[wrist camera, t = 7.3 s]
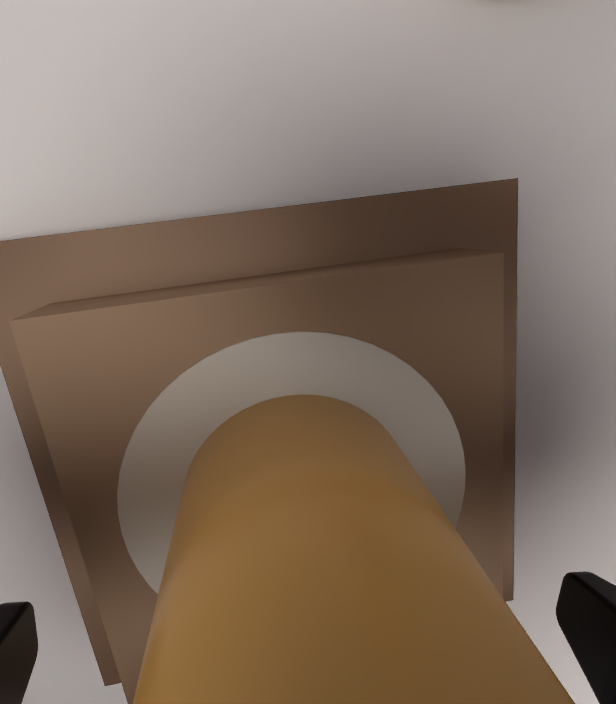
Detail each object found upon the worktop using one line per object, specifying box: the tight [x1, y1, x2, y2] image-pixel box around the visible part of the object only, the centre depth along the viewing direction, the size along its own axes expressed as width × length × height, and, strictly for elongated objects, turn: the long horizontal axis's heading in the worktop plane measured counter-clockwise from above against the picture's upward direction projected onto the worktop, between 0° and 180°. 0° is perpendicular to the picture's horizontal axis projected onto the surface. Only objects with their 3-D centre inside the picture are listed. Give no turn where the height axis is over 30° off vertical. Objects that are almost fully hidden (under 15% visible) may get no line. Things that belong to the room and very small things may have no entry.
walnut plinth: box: [0, 178, 518, 704], centre depth 12 cm, size 13×13×3 cm
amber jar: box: [133, 394, 575, 704], centre depth 7 cm, size 5×5×8 cm
